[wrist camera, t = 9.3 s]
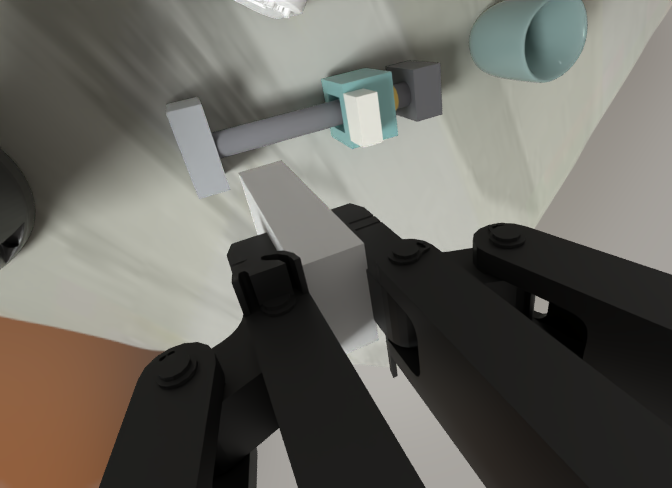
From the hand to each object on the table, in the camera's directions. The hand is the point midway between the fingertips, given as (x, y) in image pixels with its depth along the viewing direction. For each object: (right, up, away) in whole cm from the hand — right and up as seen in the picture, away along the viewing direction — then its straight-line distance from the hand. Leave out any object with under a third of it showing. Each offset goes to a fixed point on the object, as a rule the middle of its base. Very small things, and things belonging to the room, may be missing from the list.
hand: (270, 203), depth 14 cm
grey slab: (-12, +9, +26) cm, 30 cm away
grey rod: (-1, +11, +26) cm, 29 cm away
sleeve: (+3, +14, +30) cm, 33 cm away
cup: (+20, +22, +33) cm, 44 cm away
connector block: (+9, +16, +31) cm, 37 cm away
